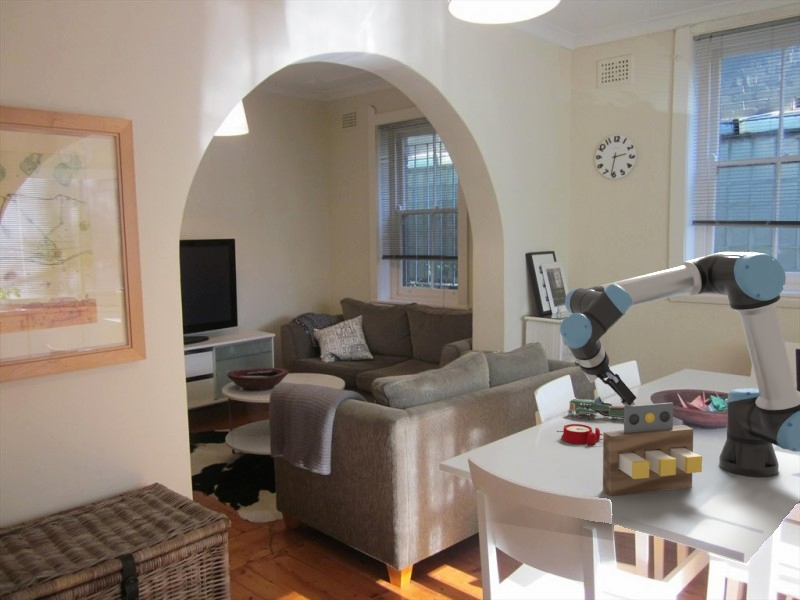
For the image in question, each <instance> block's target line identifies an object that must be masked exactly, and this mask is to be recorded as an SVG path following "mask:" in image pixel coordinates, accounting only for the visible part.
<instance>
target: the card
mask: <svg viewBox="0 0 800 600" xmlns="http://www.w3.org/2000/svg"><path fill="white" fill-rule="evenodd" d="M623 406H624V405H623ZM623 419H624V420H623V430H624V433H631V432H642V431H653V430H664V429H673V426H674V402H662V403H661V402H660V403H649V404H635V405H634V406H624V418H623Z"/></svg>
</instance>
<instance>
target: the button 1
mask: <svg viewBox="0 0 800 600" xmlns="http://www.w3.org/2000/svg"><path fill="white" fill-rule="evenodd" d="M618 469H620V470H621V471H623V472H625V473H626V474H628V475H629V476H631V477H632V478H633V479H641V478H649V461H648V460H645V459H643V458H641V457H640V456H638V455H636V454H634V453H633V452H631V451H630V452H620V453H618Z"/></svg>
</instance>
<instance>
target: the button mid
mask: <svg viewBox="0 0 800 600" xmlns="http://www.w3.org/2000/svg"><path fill="white" fill-rule="evenodd" d="M644 459H645V460H648V461H649V469H650V470H652V471H654V472H655V473H657V474H659V476H669V475H676V458H674V457H671V456H669V455H667V454H665V453H663V452H661V451H659V450H657V449H651V450H644Z"/></svg>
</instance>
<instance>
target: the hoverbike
mask: <svg viewBox="0 0 800 600" xmlns="http://www.w3.org/2000/svg"><path fill="white" fill-rule="evenodd" d="M568 403H569V409H568V411H567V413H568V414H570V415H571V414H572V415H574V414H576V416H579V417H578V419H579V418H580V419H582V418H584V415H585V416H589V418H590V419H591V420H594V419H595V415H596V414H600V415H601V416H603V418H609V417H611V419H612V420H613V421H615V420H619V422H622V421H624V405H623V406H621V405H619V406H618V405H613V404H612V403H611V402H604V400H602V399H601V396H600V395H599V396H597V397H595V398H594V399H580V398H579V399H578V398H576V397H574V399H571V400H569V402H568Z"/></svg>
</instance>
